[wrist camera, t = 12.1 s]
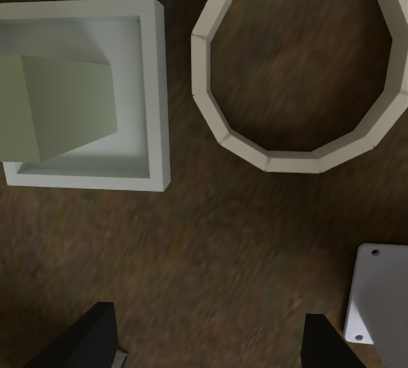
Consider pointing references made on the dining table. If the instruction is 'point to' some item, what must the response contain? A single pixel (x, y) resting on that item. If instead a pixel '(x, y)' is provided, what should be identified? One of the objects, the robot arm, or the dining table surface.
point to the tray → (122, 82)
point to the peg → (52, 106)
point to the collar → (332, 152)
